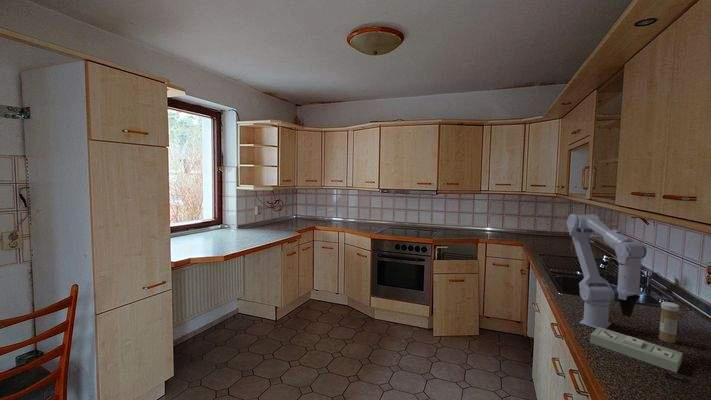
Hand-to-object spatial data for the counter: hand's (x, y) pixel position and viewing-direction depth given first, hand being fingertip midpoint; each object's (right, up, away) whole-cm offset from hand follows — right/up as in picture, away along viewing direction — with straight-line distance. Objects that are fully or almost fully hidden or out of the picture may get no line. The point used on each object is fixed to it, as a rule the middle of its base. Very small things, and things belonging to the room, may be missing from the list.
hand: (626, 315), depth 113 cm
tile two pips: (+3, -10, -9) cm, 14 cm away
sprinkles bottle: (+17, -10, +4) cm, 21 cm away
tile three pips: (-5, -9, +2) cm, 11 cm away
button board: (-1, -11, -4) cm, 11 cm away
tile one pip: (-1, -9, -4) cm, 10 cm away
